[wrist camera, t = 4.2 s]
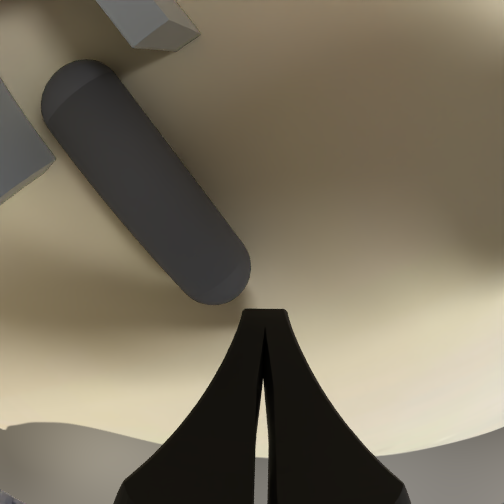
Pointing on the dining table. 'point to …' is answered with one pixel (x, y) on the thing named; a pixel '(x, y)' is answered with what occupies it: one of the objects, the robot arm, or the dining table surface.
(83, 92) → the dark grey rounded rod
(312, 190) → the dining table surface
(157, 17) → the grey angled bars
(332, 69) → the dining table surface
